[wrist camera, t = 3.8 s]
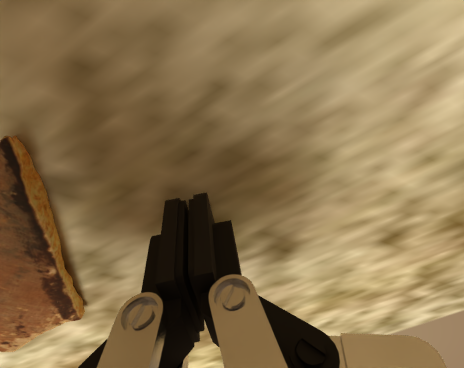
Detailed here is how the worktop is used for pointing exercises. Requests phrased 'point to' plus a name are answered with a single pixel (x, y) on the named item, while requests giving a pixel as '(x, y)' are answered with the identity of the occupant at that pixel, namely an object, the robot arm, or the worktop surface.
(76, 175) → the worktop surface
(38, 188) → the shard
